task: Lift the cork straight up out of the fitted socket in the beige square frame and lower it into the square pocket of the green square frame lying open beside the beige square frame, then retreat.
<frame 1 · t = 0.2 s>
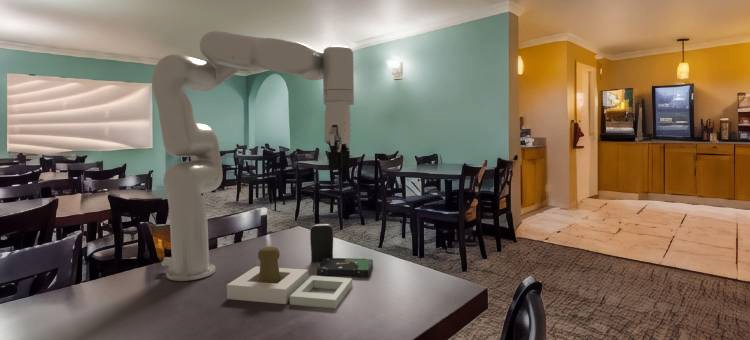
hand: (339, 167, 103), 31 cm above the table, fingers open, 9 cm apart
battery: (322, 260, 128), on the table
beige square frame: (269, 290, 103), on the table
cork: (270, 291, 103), resting in beige square frame
green square frame: (322, 294, 100), on the table
disk drive: (345, 273, 118), on the table
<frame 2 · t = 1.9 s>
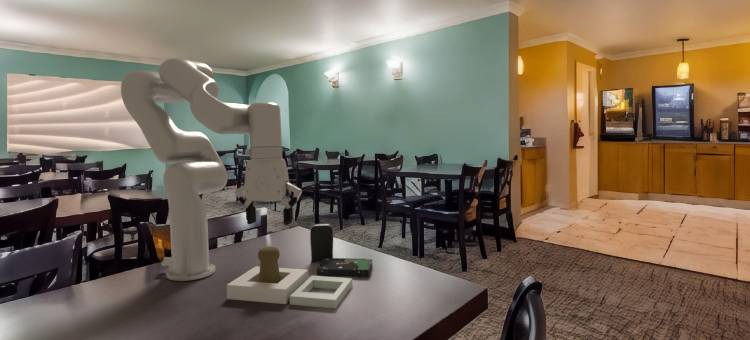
hand: (269, 223, 101), 17 cm above the table, fingers open, 9 cm apart
nothing on the table moved.
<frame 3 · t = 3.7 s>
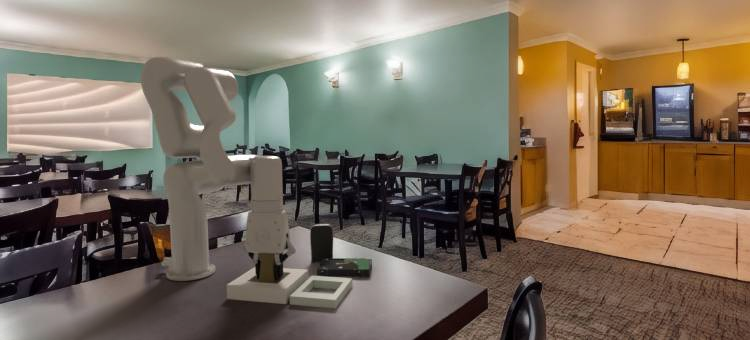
hand: (269, 277, 103), 3 cm above the table, fingers closed on cork, 4 cm apart
cork: (270, 291, 103), resting in beige square frame, touching gripper
everything else where it was.
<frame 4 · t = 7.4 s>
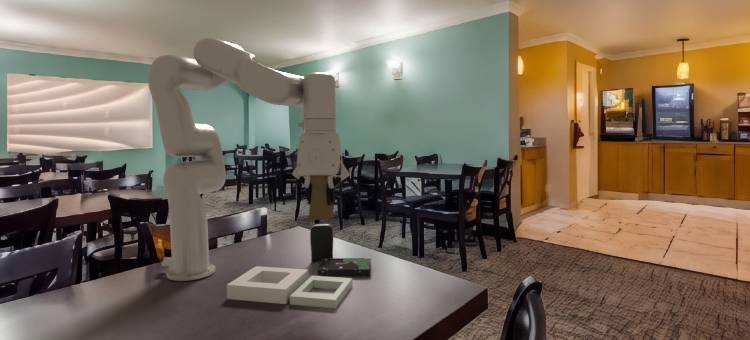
hand: (321, 203, 98), 23 cm above the table, fingers closed on cork, 4 cm apart
cork: (321, 217, 99), point 19 cm above the table, touching gripper
everything else where it was.
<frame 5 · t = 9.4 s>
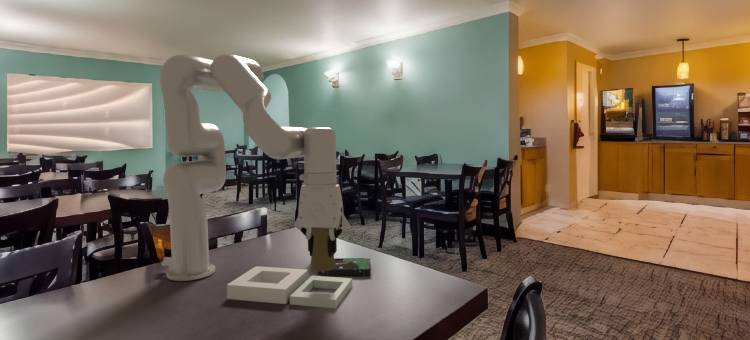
hand: (322, 254, 99), 10 cm above the table, fingers closed on cork, 4 cm apart
cork: (322, 268, 100), point 7 cm above the table, touching gripper
everything else where it was.
when the fingers open (5 cm above the table, at t = 10.9 s): cork drops 1 cm, resting in green square frame.
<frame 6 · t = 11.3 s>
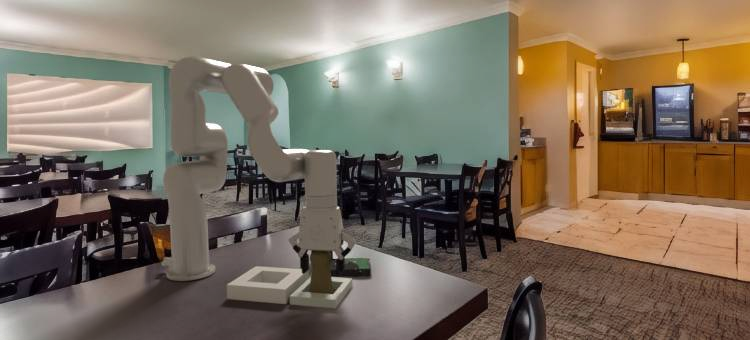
hand: (322, 272, 100), 6 cm above the table, fingers open, 8 cm apart
cork: (321, 295, 100), resting in green square frame
everything else where it was.
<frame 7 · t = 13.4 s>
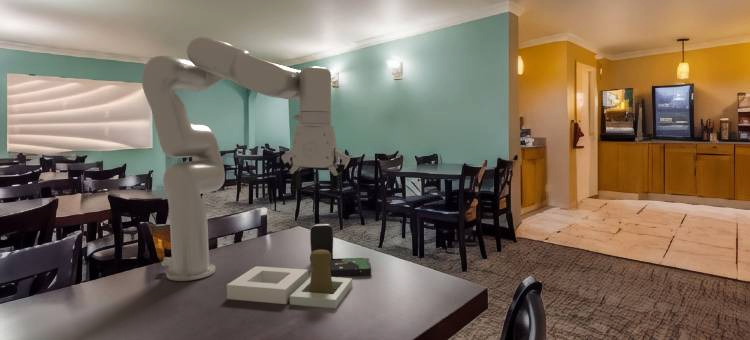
hand: (315, 190, 101), 25 cm above the table, fingers open, 9 cm apart
nothing on the table moved.
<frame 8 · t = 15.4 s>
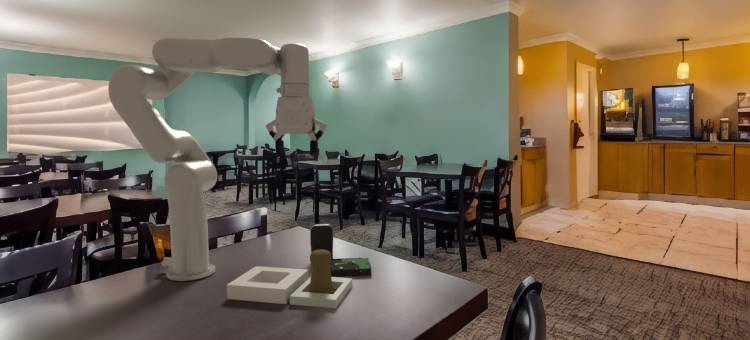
hand: (296, 155, 112), 33 cm above the table, fingers open, 9 cm apart
nothing on the table moved.
at the end: cork 0.4 cm off-centre on the green square frame, point 0.0 cm above the green square frame's base; cork tilted 0°; the gripper is holding nothing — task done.
